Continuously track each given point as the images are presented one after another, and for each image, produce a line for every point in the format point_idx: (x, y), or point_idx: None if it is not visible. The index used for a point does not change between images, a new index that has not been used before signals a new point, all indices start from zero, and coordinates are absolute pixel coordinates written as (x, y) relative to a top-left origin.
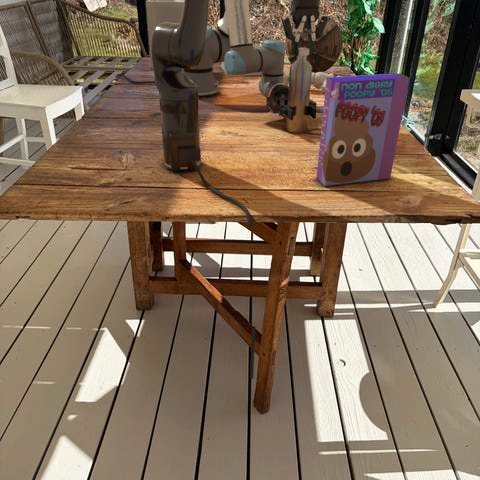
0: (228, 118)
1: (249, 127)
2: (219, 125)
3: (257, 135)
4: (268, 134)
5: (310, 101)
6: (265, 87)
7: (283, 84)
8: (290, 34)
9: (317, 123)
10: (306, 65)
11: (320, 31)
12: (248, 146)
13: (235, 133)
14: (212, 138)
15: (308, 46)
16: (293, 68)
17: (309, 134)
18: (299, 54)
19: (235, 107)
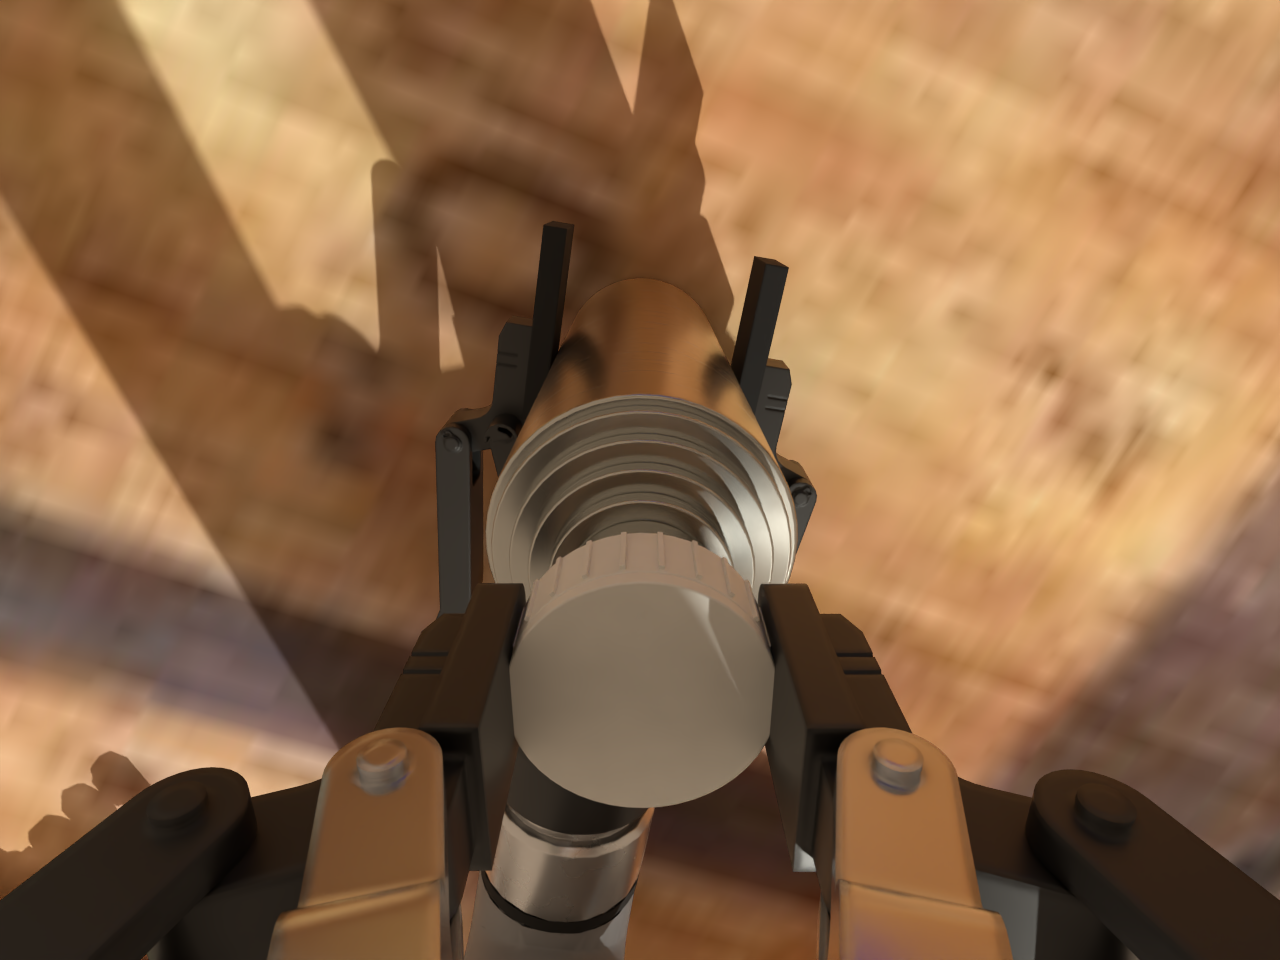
0: (935, 699)
1: (911, 506)
2: (1061, 601)
3: (954, 340)
4: (874, 332)
5: (501, 432)
6: (630, 907)
7: (555, 824)
8: (1201, 886)
9: (430, 428)
10: (617, 456)
11: (74, 928)
12: (1143, 144)
13: (1062, 428)
14: (1252, 389)
15: (504, 723)
16: (787, 507)
17: (601, 227)
18: (742, 581)
19: (785, 859)
